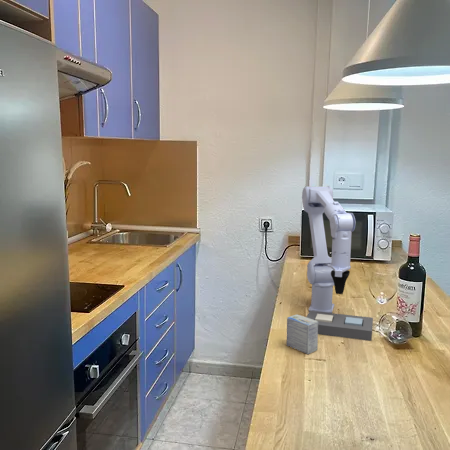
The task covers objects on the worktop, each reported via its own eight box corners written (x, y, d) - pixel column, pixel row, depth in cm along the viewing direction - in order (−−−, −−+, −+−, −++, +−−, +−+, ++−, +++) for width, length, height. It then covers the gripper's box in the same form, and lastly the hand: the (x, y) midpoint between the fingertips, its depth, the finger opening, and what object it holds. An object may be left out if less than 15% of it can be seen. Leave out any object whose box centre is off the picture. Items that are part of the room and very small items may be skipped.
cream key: (317, 322, 150) (317, 313, 150) (332, 324, 149) (333, 315, 148) (314, 328, 146) (315, 318, 145) (331, 330, 144) (331, 320, 143)
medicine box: (317, 350, 130) (319, 321, 129) (307, 355, 127) (308, 324, 126) (296, 342, 136) (296, 313, 135) (285, 346, 133) (286, 317, 132)
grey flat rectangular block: (309, 319, 154) (309, 310, 154) (372, 326, 148) (372, 317, 148) (303, 332, 143) (303, 322, 143) (371, 340, 137) (371, 331, 136)
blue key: (345, 326, 147) (346, 316, 147) (362, 327, 146) (362, 318, 145) (344, 331, 143) (344, 322, 142) (361, 333, 141) (361, 324, 141)
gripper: (330, 246, 154) (329, 286, 156) (325, 255, 140) (323, 298, 143) (352, 247, 152) (350, 288, 154) (349, 257, 138) (347, 301, 140)
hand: (339, 293), depth 148 cm, fingers closed
